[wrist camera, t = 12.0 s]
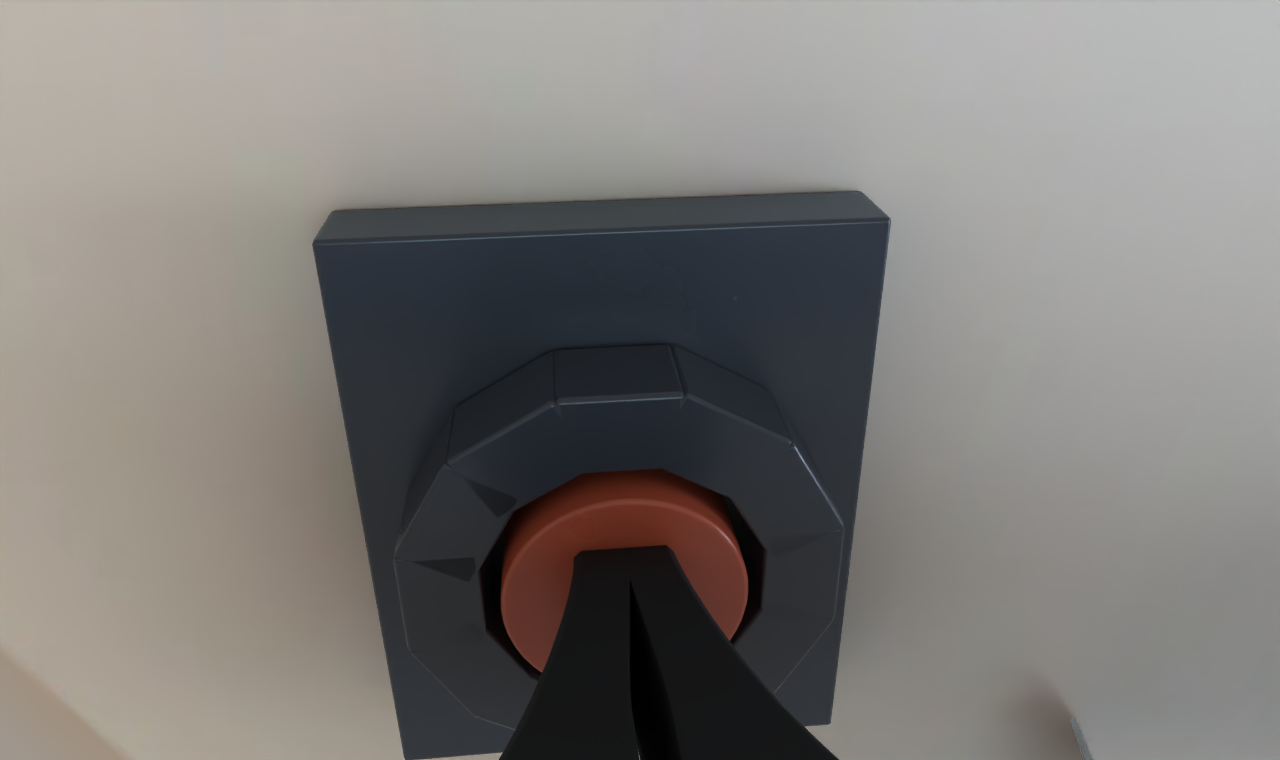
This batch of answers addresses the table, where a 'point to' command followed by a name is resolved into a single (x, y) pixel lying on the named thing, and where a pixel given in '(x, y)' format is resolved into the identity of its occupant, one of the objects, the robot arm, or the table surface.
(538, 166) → the table surface
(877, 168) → the table surface
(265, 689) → the table surface
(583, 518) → the bell button
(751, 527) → the block
